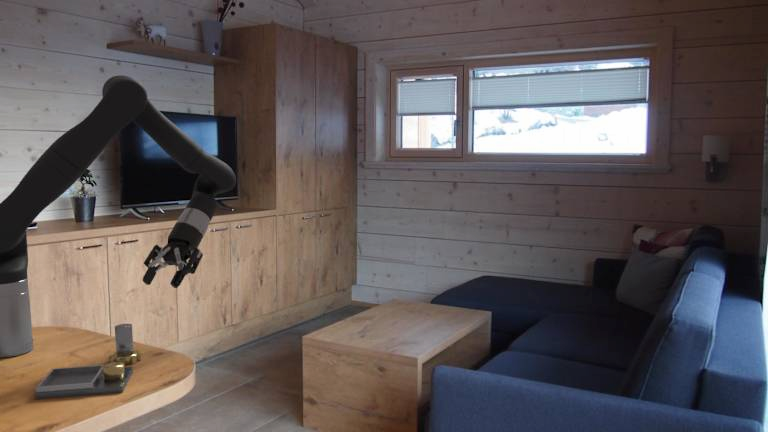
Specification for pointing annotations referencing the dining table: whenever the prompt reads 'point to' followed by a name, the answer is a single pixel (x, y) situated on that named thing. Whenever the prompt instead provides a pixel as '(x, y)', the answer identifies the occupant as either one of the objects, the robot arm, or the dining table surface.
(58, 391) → the tray
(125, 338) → the gear
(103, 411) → the dining table surface
